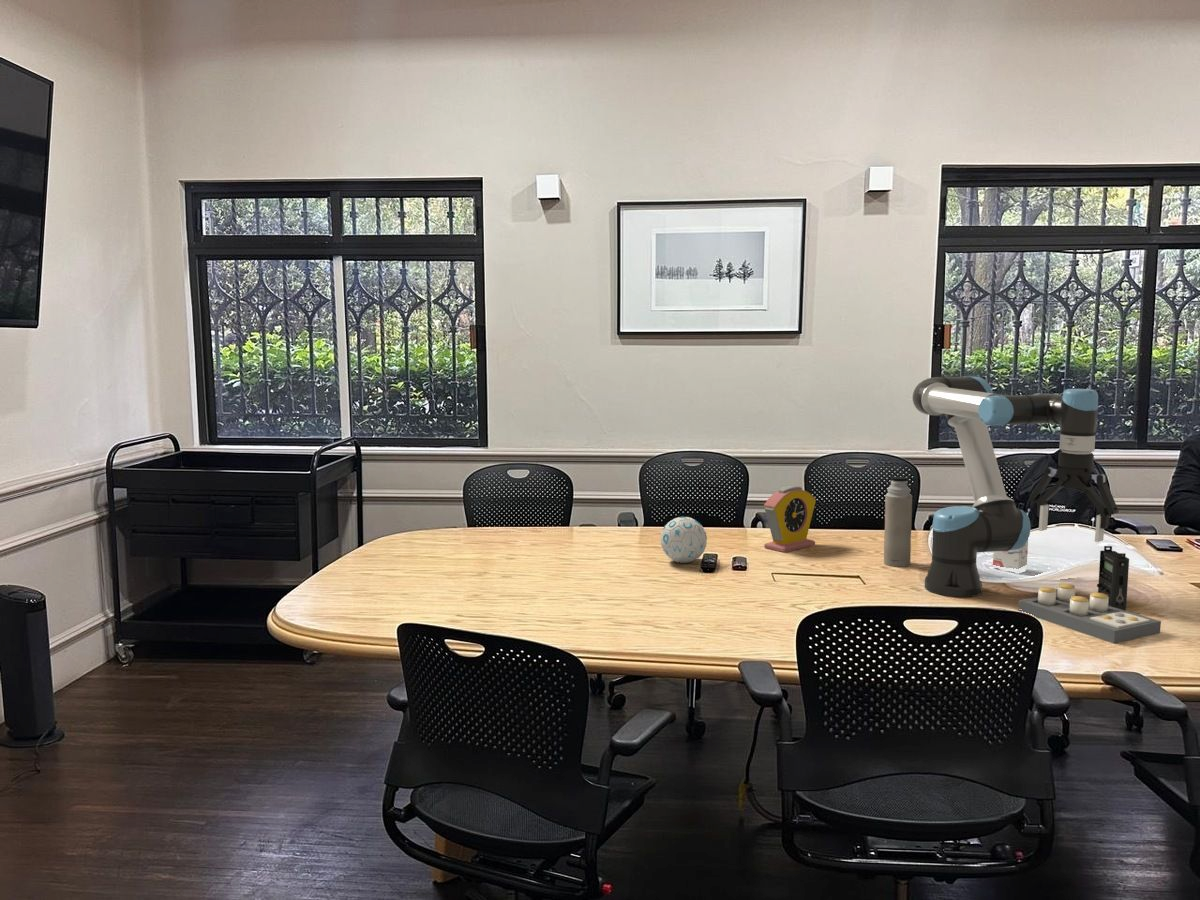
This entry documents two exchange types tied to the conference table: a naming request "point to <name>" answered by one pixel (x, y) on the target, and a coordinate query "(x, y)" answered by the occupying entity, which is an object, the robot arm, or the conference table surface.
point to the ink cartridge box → (1011, 557)
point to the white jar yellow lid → (1079, 606)
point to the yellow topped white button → (1098, 602)
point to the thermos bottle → (898, 523)
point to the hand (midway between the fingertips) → (1070, 535)
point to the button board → (1095, 621)
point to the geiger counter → (1114, 577)
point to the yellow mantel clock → (789, 518)
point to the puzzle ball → (683, 539)
